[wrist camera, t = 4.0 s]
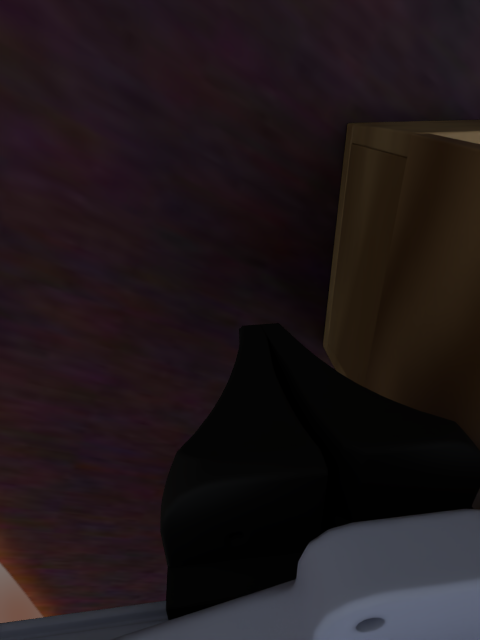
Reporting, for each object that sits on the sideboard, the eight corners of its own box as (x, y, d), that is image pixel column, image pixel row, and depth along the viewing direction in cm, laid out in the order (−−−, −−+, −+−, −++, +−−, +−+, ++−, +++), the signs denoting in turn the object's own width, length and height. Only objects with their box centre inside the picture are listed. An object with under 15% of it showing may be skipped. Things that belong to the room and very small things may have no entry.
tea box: (582, 117, 19) (739, 123, 14) (500, 332, 25) (584, 395, 20) (346, 123, 18) (415, 132, 12) (322, 346, 24) (360, 417, 19)
